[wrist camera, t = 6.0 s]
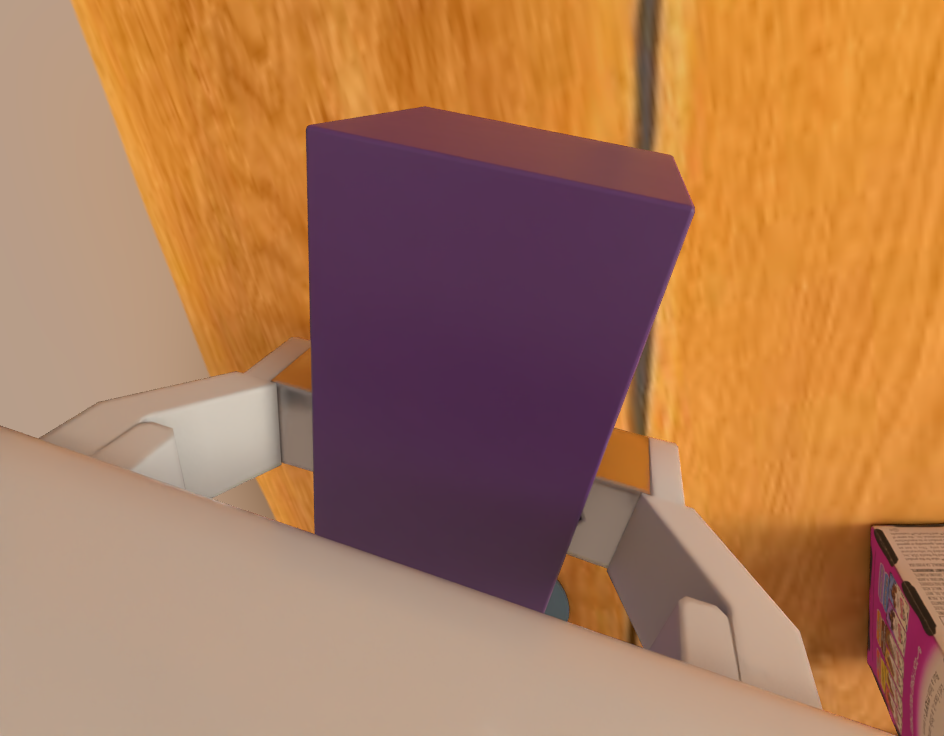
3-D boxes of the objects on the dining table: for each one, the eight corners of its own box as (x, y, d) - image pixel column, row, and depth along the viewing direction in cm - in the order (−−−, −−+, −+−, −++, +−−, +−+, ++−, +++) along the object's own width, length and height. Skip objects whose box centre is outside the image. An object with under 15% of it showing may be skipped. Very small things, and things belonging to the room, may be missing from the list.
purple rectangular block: (422, 105, 9) (303, 124, 6) (674, 155, 9) (698, 206, 5) (389, 495, 15) (315, 620, 11) (543, 545, 14) (513, 695, 11)
